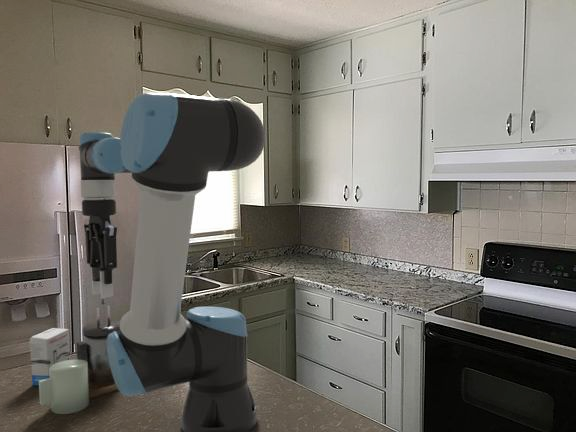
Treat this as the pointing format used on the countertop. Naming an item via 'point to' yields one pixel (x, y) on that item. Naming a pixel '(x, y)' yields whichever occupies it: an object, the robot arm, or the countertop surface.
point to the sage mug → (66, 387)
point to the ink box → (48, 352)
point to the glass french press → (98, 355)
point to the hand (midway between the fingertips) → (102, 295)
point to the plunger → (97, 278)
